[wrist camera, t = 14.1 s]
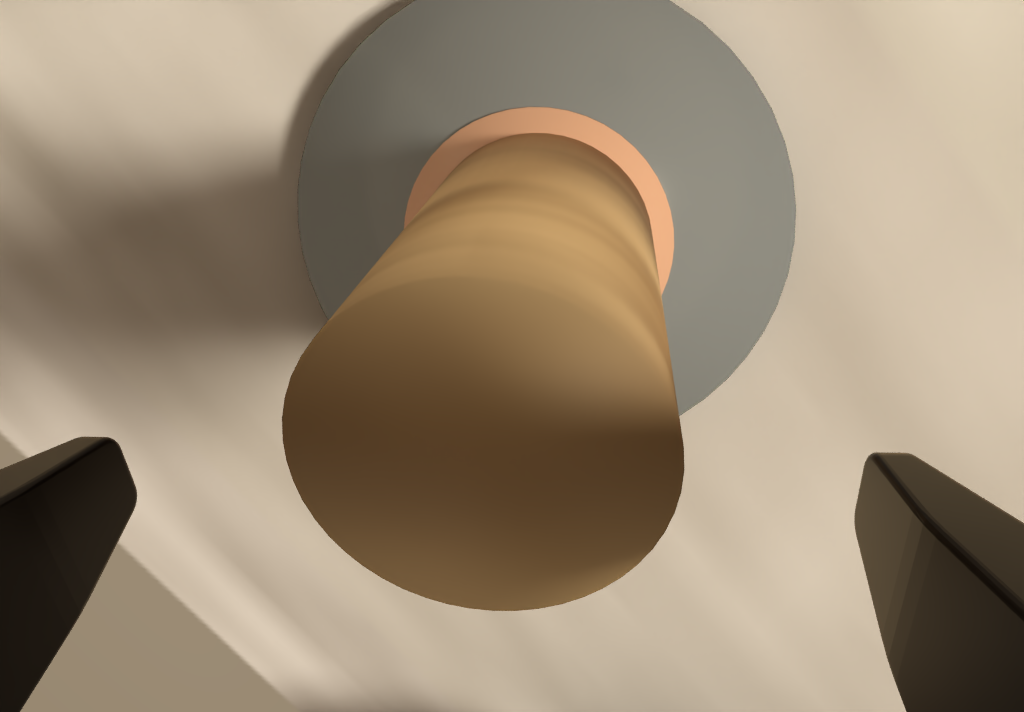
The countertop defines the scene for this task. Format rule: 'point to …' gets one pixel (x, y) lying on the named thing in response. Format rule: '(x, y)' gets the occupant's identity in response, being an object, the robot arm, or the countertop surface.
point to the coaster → (575, 114)
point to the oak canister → (498, 388)
